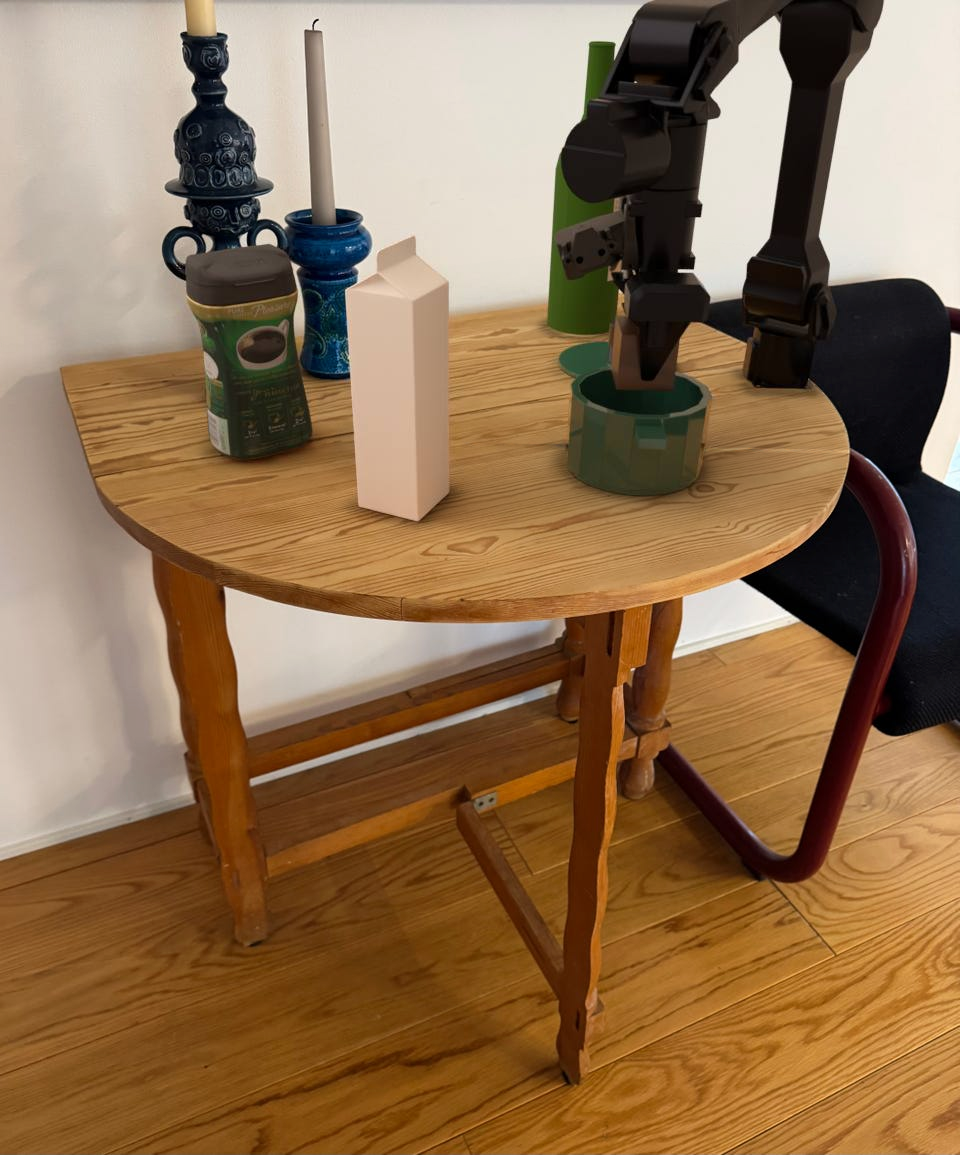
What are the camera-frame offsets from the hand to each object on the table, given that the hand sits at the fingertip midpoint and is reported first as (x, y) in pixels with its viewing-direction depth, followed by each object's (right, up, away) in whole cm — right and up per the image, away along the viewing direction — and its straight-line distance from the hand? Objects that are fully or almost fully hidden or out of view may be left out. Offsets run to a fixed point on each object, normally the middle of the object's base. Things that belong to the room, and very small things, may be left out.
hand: (643, 369), depth 85 cm
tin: (0, -8, +5) cm, 10 cm away
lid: (+1, +6, +26) cm, 26 cm away
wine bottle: (-1, +14, +39) cm, 41 cm away
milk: (-21, -12, -1) cm, 25 cm away
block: (0, -1, +1) cm, 1 cm away
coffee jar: (-36, -6, +8) cm, 37 cm away
